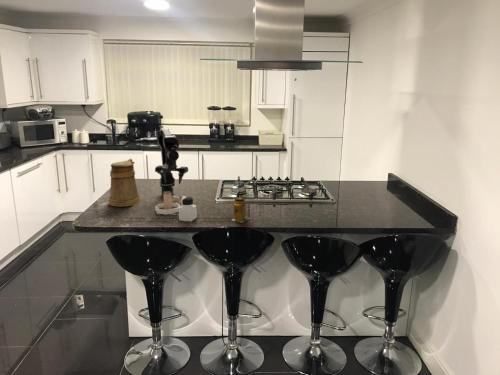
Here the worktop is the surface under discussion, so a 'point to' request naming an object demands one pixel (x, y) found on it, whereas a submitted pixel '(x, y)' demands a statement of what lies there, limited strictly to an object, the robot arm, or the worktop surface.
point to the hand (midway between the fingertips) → (172, 183)
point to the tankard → (123, 184)
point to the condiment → (240, 210)
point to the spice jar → (167, 200)
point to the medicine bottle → (187, 210)
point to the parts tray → (177, 200)
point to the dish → (164, 211)
